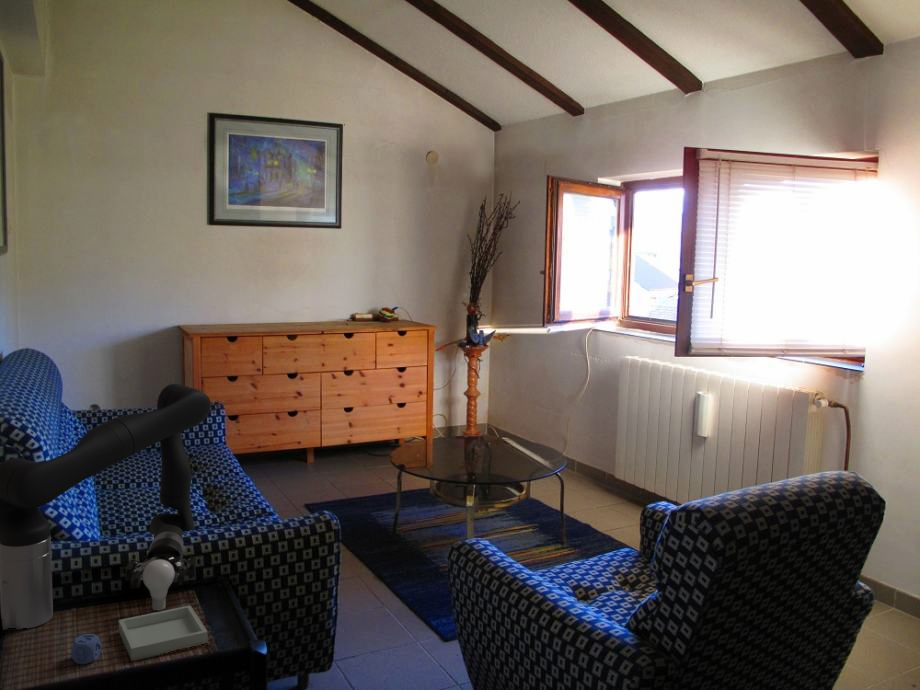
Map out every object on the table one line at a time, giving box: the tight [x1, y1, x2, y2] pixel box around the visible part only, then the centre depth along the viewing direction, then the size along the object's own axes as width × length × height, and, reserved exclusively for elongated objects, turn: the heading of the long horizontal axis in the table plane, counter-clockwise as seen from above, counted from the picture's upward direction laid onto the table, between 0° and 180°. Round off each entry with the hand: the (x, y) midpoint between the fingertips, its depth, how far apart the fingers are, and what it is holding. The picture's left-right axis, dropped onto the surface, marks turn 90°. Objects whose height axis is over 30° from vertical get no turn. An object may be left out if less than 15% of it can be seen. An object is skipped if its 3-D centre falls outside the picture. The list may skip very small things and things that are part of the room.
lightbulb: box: [142, 559, 175, 612], centre depth 173 cm, size 6×6×11 cm
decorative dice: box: [70, 633, 102, 665], centre depth 154 cm, size 4×4×4 cm
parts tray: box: [118, 605, 209, 662], centre depth 162 cm, size 14×13×2 cm
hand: (158, 582), depth 173 cm, fingers open, 8 cm apart
